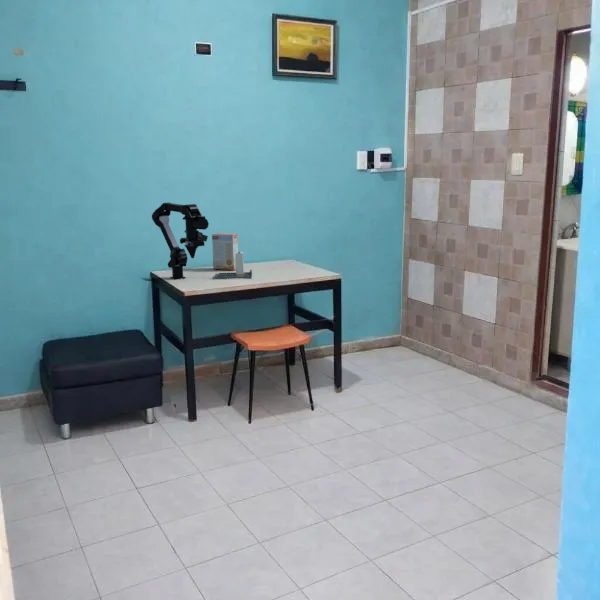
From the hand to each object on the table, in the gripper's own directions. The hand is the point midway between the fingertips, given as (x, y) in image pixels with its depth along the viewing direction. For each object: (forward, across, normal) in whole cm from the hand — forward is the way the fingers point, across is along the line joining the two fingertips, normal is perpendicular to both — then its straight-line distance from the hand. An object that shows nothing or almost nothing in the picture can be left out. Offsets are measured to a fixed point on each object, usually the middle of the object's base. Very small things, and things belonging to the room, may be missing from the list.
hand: (192, 258), depth 341 cm
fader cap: (+11, -5, -25) cm, 28 cm away
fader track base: (+12, -3, -22) cm, 25 cm away
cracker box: (+12, +22, -30) cm, 39 cm away
